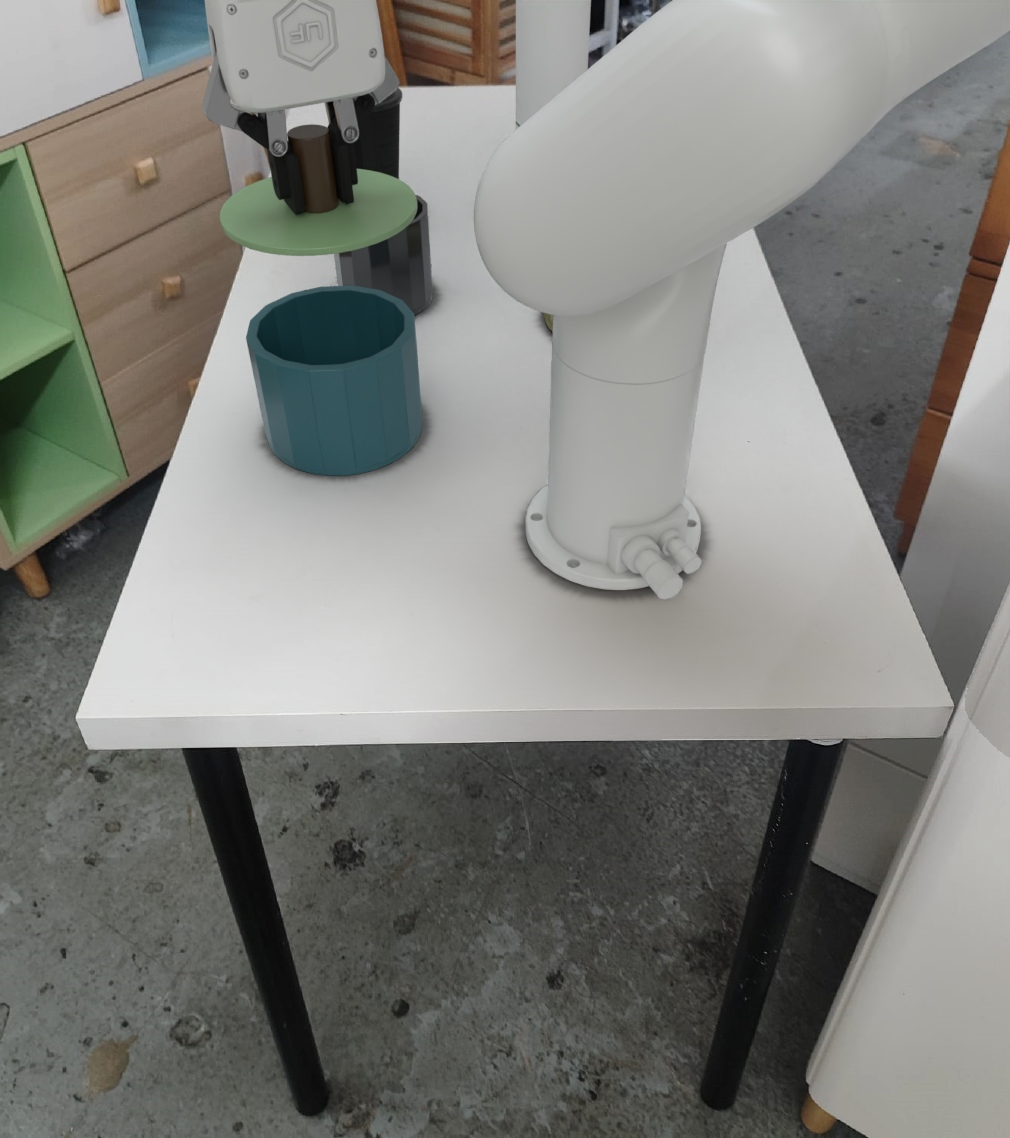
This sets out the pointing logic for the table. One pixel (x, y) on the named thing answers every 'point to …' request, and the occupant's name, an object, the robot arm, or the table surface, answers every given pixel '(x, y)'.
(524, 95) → the cylindrical container
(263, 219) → the lid
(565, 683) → the table surface
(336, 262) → the cup
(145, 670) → the table surface
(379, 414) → the tin
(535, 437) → the table surface
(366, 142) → the drinking cup
